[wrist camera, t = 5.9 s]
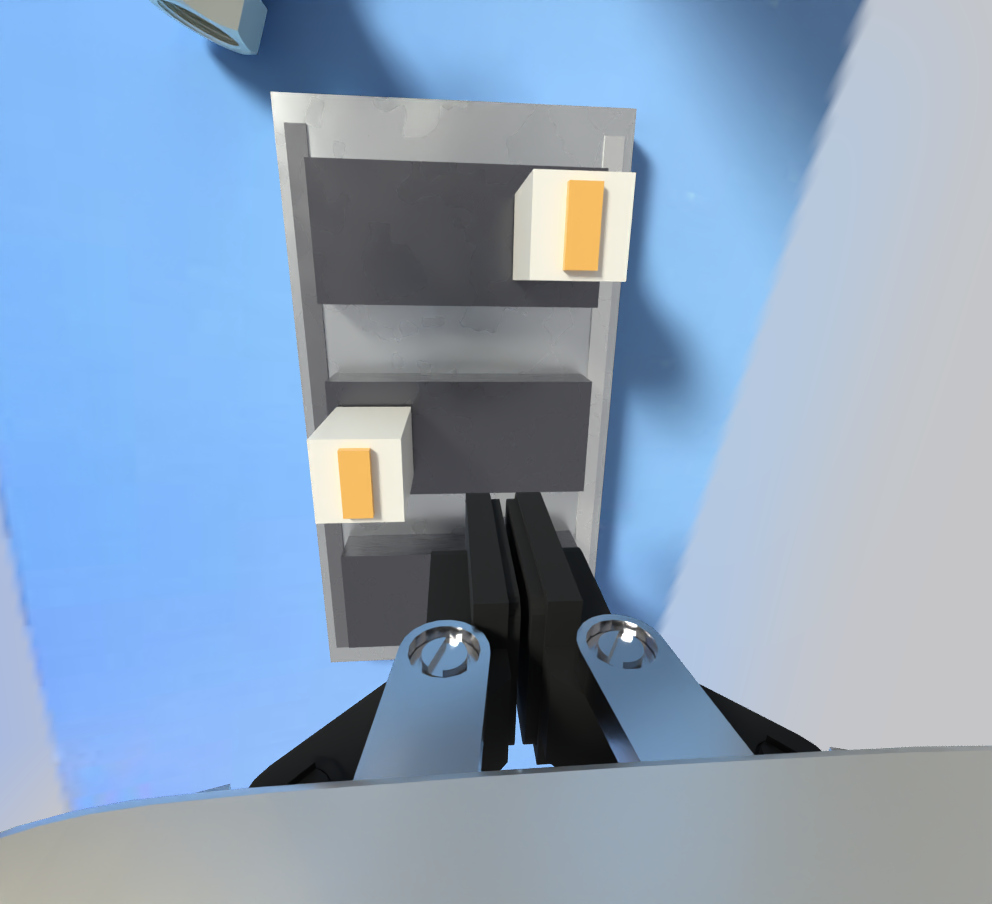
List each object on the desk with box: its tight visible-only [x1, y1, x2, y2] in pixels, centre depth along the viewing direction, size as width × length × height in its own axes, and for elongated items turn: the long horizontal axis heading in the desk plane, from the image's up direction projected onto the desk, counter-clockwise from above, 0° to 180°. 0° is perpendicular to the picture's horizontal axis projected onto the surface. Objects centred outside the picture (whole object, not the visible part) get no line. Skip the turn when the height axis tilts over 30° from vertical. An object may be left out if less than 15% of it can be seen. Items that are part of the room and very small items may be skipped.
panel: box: [270, 92, 636, 662], centre depth 24 cm, size 26×14×4 cm, turn 179°
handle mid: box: [307, 407, 414, 524], centre depth 19 cm, size 3×3×5 cm
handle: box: [513, 169, 636, 282], centre depth 17 cm, size 3×3×5 cm
